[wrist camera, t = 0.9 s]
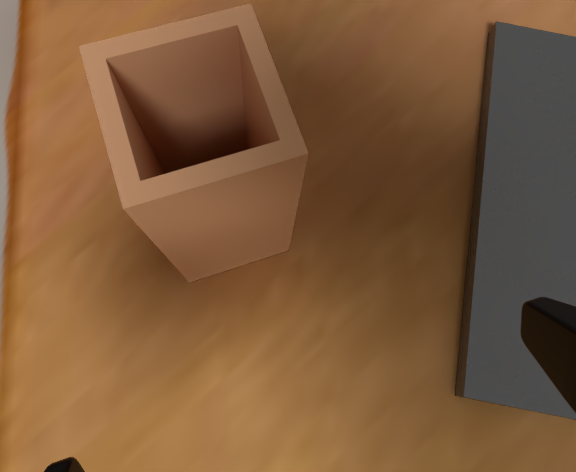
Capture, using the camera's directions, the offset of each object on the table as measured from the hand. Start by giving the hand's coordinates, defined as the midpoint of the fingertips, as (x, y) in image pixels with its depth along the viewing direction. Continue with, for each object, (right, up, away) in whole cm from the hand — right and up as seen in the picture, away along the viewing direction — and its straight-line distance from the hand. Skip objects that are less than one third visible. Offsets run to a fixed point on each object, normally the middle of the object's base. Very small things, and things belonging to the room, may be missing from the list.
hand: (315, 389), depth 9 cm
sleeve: (-4, +4, +14) cm, 15 cm away
